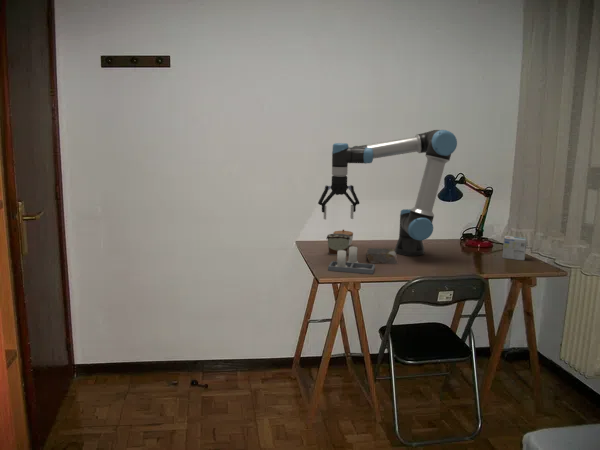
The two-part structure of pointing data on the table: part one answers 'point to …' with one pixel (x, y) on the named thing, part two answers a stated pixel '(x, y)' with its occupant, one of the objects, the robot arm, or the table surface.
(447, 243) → the table surface
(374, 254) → the geological specimen
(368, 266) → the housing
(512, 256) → the light bulb box
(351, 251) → the white pillar candle
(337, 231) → the lidded jar
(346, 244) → the food container
